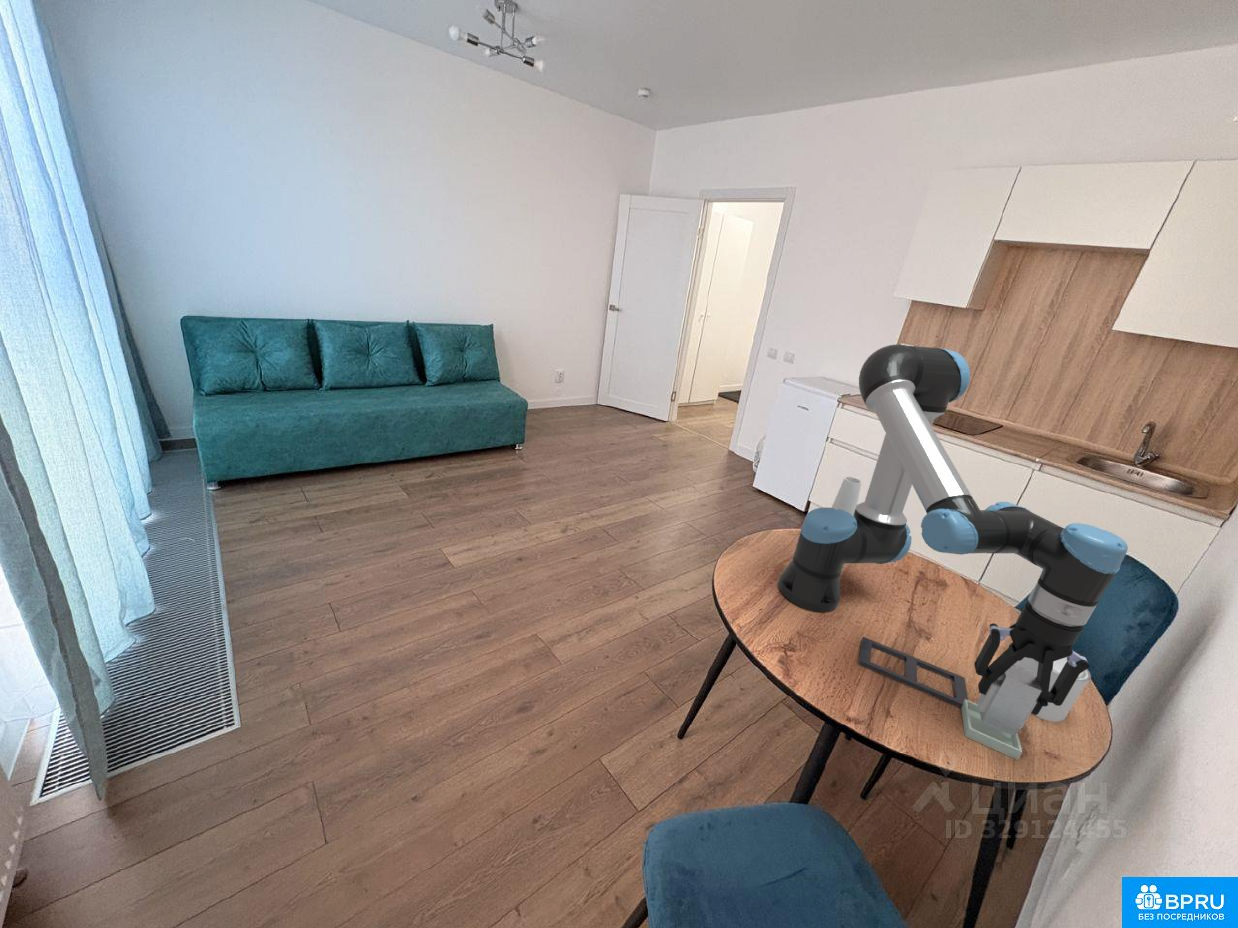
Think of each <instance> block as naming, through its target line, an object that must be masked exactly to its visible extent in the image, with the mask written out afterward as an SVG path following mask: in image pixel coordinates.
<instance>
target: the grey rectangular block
mask: <svg viewBox="0 0 1238 928" xmlns="http://www.w3.org/2000/svg"><path fill="white" fill-rule="evenodd" d="M1015 664H1016V663H1015ZM1015 664H1014V665H1013V666H1011V667H1010V668H1009V669H1008V670H1007V671H1006V672H1005V673H1004V674H1002V675H1001V676H1000V677H999V678H998V679H997V680H996V682H997V686H998V687H997V689H996V690H995V692H994V694H993V696H992V698H991V700H990V702H989V703H988V705H987V707H986V709H985V711H984V713H982V712H980V715H981V721H982V723H985V724H987V725H989V726H992V727H994V728H996V729H999V730H1001V731H1003V732H1006V733H1008V734H1010V735H1013V736H1016V734H1017V733H1018V732H1019V730H1021V729H1020V727H1021V725H1022V724H1023V722H1024V720H1025V719H1026V717H1027V715H1028V713H1029V712H1030V710H1031V708H1032V707H1033V705H1034V703H1035V702H1036V700H1037V698H1038V696H1039V695H1040V693H1041V691H1042V690H1041V687H1040V684H1039V682H1038V679H1037V676H1036V673H1035V672H1033V671H1031V670H1028V669H1025V668H1023V667H1020V666H1017V665H1015Z"/></svg>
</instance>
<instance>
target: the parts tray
mask: <svg viewBox="0 0 1238 928" xmlns="http://www.w3.org/2000/svg"><path fill="white" fill-rule="evenodd" d="M968 706H969V708H968ZM960 710H961V715H962V725H963V731H964V737H966V738H967V739H970V740H972V741H974V742H976V743H979V744H981V745H983V746H985V747H988V748H990V749H992V750H995V751H996V752H999V753H1001V754H1003V755H1006V756H1008V757H1010V758H1012V759H1014V760H1017V761H1018V760H1019V759H1020V757H1021V756H1022V754H1023V748H1022V746H1021V742H1020V737H1019V734H1018V732H1017V734H1016V736H1013V735H1010V734H1008V733H1006V732H1003V731H1001V730H999V729H996V728H994V727H992V726H989V725H987V724H985V723H982V721H981V715H980V711H979V710H978V704H977V703H975V702H973V701H970V700H969V699H968V700H966V699H965V700H964V702H963V706H962V708H960Z"/></svg>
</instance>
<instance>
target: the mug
mask: <svg viewBox="0 0 1238 928" xmlns="http://www.w3.org/2000/svg"><path fill="white" fill-rule="evenodd" d="M1066 662H1067V657H1066V658H1063V659H1059V660H1056V661H1054V662H1053V669H1052V671H1051V677H1050V685H1049V692H1050V690H1051V688H1052V686H1053V685H1054V683H1055V681H1056V679H1057V678H1058V676H1059V674H1060V672H1061V671H1062V669H1063V667H1064V665H1065V664H1066ZM1038 663H1039V662H1038V661H1036V660H1034V659H1032V658H1026V657H1024V658H1023V659H1022V660H1021V661H1017V662H1016V663H1015V665H1017V666H1020V667H1023V668H1025V669H1028V670H1031V671H1033V672H1035V673H1036V676H1037V671H1038ZM1091 679H1092V676H1091V672H1090V671H1089V668H1088V669H1086V670H1085V671H1083V672H1082V673H1080V674H1079V676H1078V678H1077V679H1076V681H1075V683H1074V684H1073V686H1072V688H1071V690H1070V691H1069V693H1068V695H1067V696H1066V698H1065V700H1064V702H1063V703H1062V705H1060V706H1057V705H1054V704H1053V703H1048V706H1043V707H1042V708H1041V710H1040V711H1039V713H1038V714H1037V715H1034V716H1035V717H1037V718H1039V719H1041V720H1045V721H1047V722H1055V723H1059V722H1064V720H1065V718H1066V717H1067V716H1068V715H1069V712H1070V711H1071V710H1072V708H1073V707H1074V705H1075V704H1076V702H1077V700H1078V698H1079V697H1080V695H1081V694H1082V692H1083V691H1084V689H1085V688H1086V686H1087V685H1088V683H1089V681H1090V680H1091Z"/></svg>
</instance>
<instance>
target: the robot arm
mask: <svg viewBox="0 0 1238 928" xmlns="http://www.w3.org/2000/svg"><path fill="white" fill-rule="evenodd" d="M970 379H971V372H970V367H969V364H968V363H967V362H966V358H964V357H963V355H961V354H960V353H958V352H957V351H954V350H951V349H946V348H942V347H929V346H917V345H916V346H913V345H906V344H890V345H886V346H883V347H881V348H879V349H876V350H875V351H874V352H873V353H871V354H870V355H869V356H868V358H867V359H866V360H865V361H864V363H863V364H862V366H861V369H860V371H859V377H858V387H859V393H860V396H861V399H862V401H863V402H864V405H865V407H866V409H868V410H869V411H871V412H875V415H876V417H877V418H878V420H879V423H880V424H881V425H882V428H883V431H884V432H885V435H884V438H883V441H882V445H881V448H880V451H879V454H878V457H877V459H876V464H875V467H874V469H873V472H872V473H873V474H872V477H871V481H870V482H869V483H870V484H869V486H868V489H867V492H866V495H865V498H864V499H865V500H864V501H863V502H860V503H857V506H856V509H855V512H854V515H851V514H850V513H848V512H846V511H843V510H840V509H838V510H836V509H834V508H831V507H826V506H825V507H817V508H814V509H812V510H811V511H809V512H807V514H805V515H806V516H805V518H804V520H803V522H802V523H801V524H802V525H801V526H800V533H799V537H798V540H797V543H796V547H795V550H794V553H793V556H792V557H793V558H792V560H791V562H790V563H789V564H788V566H786V568H785V569H784V571H782V573H781V575H780V576H779V580H778V583H779V584H778V585H777V586H779V587H778V589H780V590H781V592H782V593H783V594H782V593H781V592H780V593H781V594H782V596H783V595H784V596H785V597H786V598H785V597H784V596H783V597H784V598H785V599H786V600H788V599H789V600H790V601H791V602H790V601H789V600H788V601H789V602H790V603H792V602H793V603H792V604H794V605H795V604H796V605H795V606H797V607H800V608H802V609H805V610H807V611H812V612H816V613H829V612H832V611H834V610H835V609H837V608H838V606H839V603H840V600H841V582H840V576H841V573H842V570H843V568H844V565H845V564H876V565H877V564H878V565H882V564H883V565H884V564H889V563H890V564H891V563H896V562H898V561H900V560H902V559H903V558H905V556H906V555H907V554H908V552H909V550H910V549H911V545H912V538H913V537H912V535H910V534H911V529H910V527H909V525H908V524H907V523H908V519H907V517H906V516H905V514H904V513H903V511H904V508H905V506H906V503H907V501H908V498H909V494H910V491H911V488H914V491H915V493H916V494H917V497H918V499H919V500H920V503H921V505H922V506H923V508H924V511H925V513H926V515H924V517H923V518H922V520H921V523H920V528H921V533H920V534H921V538H922V539H923V541H924V543H925V544H926V545H927V546H928V547H929V548H930V549H931V550H933V551H936V552H938V553H943V554H951V555H960V556H962V555H967V554H968V555H969V554H1013V555H1014V554H1015V555H1017V556H1019V557H1021V558H1022V559H1024V560H1026V561H1027V562H1029V563H1031V564H1033V565H1035V566H1037V567H1039V568H1041V569H1042V570H1041V573H1040V575H1039V578H1038V580H1037V582H1036V583H1035V585H1034V587H1033V589H1032V590H1031V592H1030V595H1029V596H1028V597H1027V598H1028V600H1027V601H1028V602H1026V603H1025V604H1024V606H1023V608H1022V610H1021V612H1020V613H1019V616H1018V617H1017V620H1016V622H1015V623H1014V624H1012V625H1010V626H1009V627H1003V626H998V624H997V623H990V624H989V634H988V637H987V638H986V640H985V642H984V644H983V646H982V648H981V650H980V652H979V653H978V655H977V657H976V660H975V661H974V665H973V666H974V669H975V670H974V671H975V673H976V675H978V676H981V679H980V681H979V682H978V684H977V686H978V687H977V688H978V693H980V694H979V696H978V698H977V700H976V704H978V710H979V711H980V712H982V713H984V711H985V709H986V707H987V705H988V703H989V702H990V700H991V698H992V696H993V694H994V692H995V690H996V689H997V687H998V686H997V682H996V680H997V679H998V678H999V677H1000V676H1001V675H1002V674H1004V673H1005V672H1006V671H1007V670H1008V669H1009V668H1010V667H1011V666H1013V665H1014V664H1016V662H1017V661H1021V660H1022V659H1023V658H1024V657H1026V658H1032V659H1034V660H1036V661H1038V662H1039V663H1038V671H1037V679H1038V682H1039V684H1040V687H1041V690H1042V691H1041V693H1040V695H1039V696H1038V698H1037V700H1036V702H1035V703H1034V705H1033V707H1032V708H1031V710H1030V712H1029V713H1028V715H1027V717H1026V719H1025V720H1024V722H1023V724H1022V725H1021V727H1020V729H1019V730H1021V729H1023V727H1024V726H1025V724H1026V723H1027V720H1028V719H1029V718H1030V716H1031V715H1033V716H1035V715H1037V714H1038V713H1039V711H1040V710H1041V708H1042V707H1043V706H1048V703H1053V704H1054V705H1057V706H1060V705H1062V703H1063V702H1064V700H1065V698H1066V696H1067V695H1068V693H1069V691H1070V690H1071V688H1072V686H1073V684H1074V683H1075V681H1076V679H1077V678H1078V676H1079V674H1080V673H1082V672H1083V671H1085V670H1086V669H1088V670H1089V668H1090V666H1091V665H1090V664H1089V661H1088V660H1087V658H1086V655H1085V654H1083V653H1077V652H1076V651H1074V650H1073V645H1074V644H1075V643H1076V641H1077V640H1078V638H1079V636H1080V635H1081V633H1082V631H1083V629H1084V627H1083V626H1084V625H1086V624H1087V623H1088V621H1089V619H1090V617H1091V616H1092V614H1093V612H1094V611H1095V609H1096V608H1097V604H1098V603H1099V601H1100V599H1101V598H1102V596H1103V594H1104V593H1105V591H1106V590H1107V588H1108V587H1109V586H1110V583H1111V582H1112V580H1113V579H1114V577H1115V575H1116V574H1117V572H1119V571H1120V570H1121V565H1122V564H1123V563H1122V562H1123V561H1124V558H1125V557H1126V556H1127V555H1126V554H1127V552H1128V544H1127V542H1126V541H1125V540H1124V539H1123V538H1122V537H1120V536H1118V535H1117V534H1116V533H1115V534H1114V533H1113V532H1111V531H1110V530H1109V531H1108V530H1107V529H1106V530H1105V529H1101V528H1099V527H1096V526H1094V525H1090V524H1086V523H1080V522H1073V523H1069V524H1068V525H1066V526H1065V528H1064V527H1062V526H1060V525H1058V524H1056V523H1054V522H1052V521H1050V520H1048V519H1046V518H1044V517H1042V516H1040V515H1038V514H1036V513H1034V512H1032V511H1031V510H1029V509H1027V508H1026V507H1023V506H1020V505H1017V504H1014V503H1012V502H1009V501H997V502H996V503H995V504H991V505H988V507H987V508H985V509H980V508H979V506H978V504H977V502H976V501H975V499H974V498H973V496H972V494H971V492H970V490H969V489H968V487H967V485H966V484H965V482H964V480H963V478H962V477H961V475H960V473H959V472H958V470H957V468H956V466H955V465H954V463H953V461H952V459H951V458H950V456H949V454H948V453H947V451H946V450H945V447H944V445H943V444H942V442H941V440H940V439H939V437H938V435H937V434H936V432H935V430H934V428H933V424H934V422H935V419H937V418H938V417H940V416H943V415H944V414H945V413H946V411H947V408H948V405H949V403H952V402H954V401H957V400H958V399H959V398H960V397H962V396H963V395H964V394H965V392H966V391H967V389H968V386H969V384H970ZM780 590H779V591H780ZM1007 637H1010V638H1011V641H1012V642H1011V643H1010V644H1009V646H1008V648H1007V649H1006V650H1005V651H1004V652H1002V653H1001V654H1000V655H999V656H998V657H997V658H996V659H995V660H994V661H993V662H991V661H992V660H993V658H994V657H995V654H996V653H997V651H998V649H999V647H1000V644H1001V642H1003V641H1005V639H1006V638H1007ZM1066 657H1067V662H1066V664H1065V665H1064V667H1063V669H1062V671H1061V672H1060V674H1059V676H1058V678H1057V679H1056V681H1055V683H1054V685H1053V686H1052V688H1051V690H1050V692H1049V685H1050V677H1051V671H1052V669H1053V662H1054V661H1056V660H1059V659H1063V658H1066Z"/></svg>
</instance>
